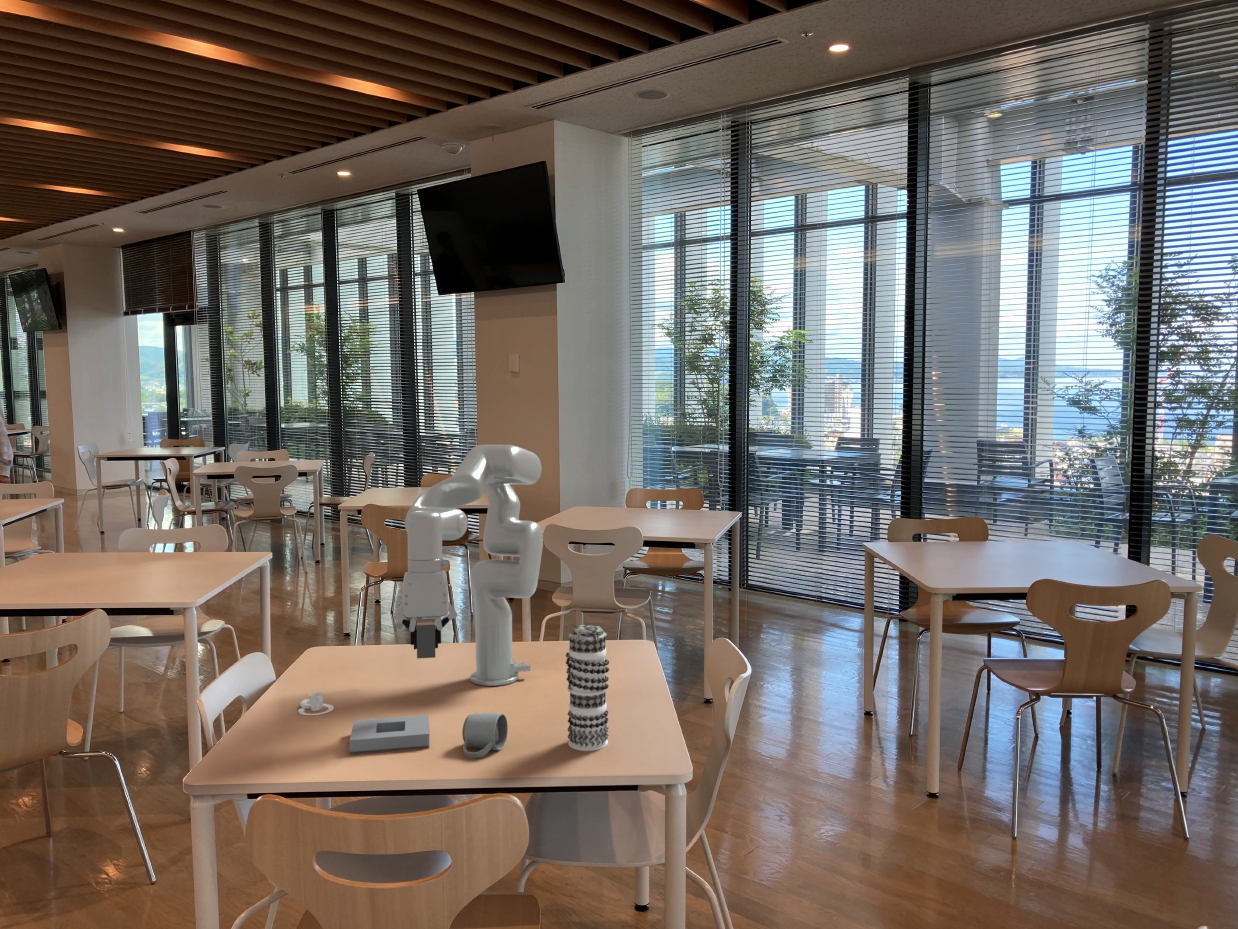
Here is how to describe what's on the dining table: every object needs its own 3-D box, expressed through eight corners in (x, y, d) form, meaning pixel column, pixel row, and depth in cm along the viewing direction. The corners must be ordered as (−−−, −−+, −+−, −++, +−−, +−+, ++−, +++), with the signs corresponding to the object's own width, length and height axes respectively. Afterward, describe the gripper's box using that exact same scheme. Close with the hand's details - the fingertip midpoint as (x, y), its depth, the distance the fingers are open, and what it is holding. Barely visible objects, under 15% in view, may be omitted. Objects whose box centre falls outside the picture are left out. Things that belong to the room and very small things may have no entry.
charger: (435, 653, 204) (434, 618, 203) (435, 657, 200) (435, 621, 200) (417, 654, 203) (416, 618, 203) (417, 658, 199) (416, 622, 199)
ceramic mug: (474, 739, 193) (473, 706, 193) (508, 742, 191) (508, 708, 191) (454, 758, 184) (453, 723, 183) (490, 761, 182) (489, 726, 181)
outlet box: (428, 728, 200) (428, 714, 200) (429, 747, 189) (428, 733, 188) (354, 733, 197) (354, 720, 197) (349, 754, 185) (349, 740, 185)
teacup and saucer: (297, 707, 216) (297, 690, 216) (332, 703, 219) (331, 686, 219) (299, 719, 208) (298, 701, 208) (334, 714, 211) (334, 697, 211)
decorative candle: (559, 740, 192) (557, 625, 191) (597, 732, 197) (596, 620, 195) (578, 754, 184) (577, 634, 183) (617, 746, 189) (617, 629, 187)
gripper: (462, 562, 206) (462, 641, 207) (387, 565, 202) (388, 645, 203) (463, 567, 199) (464, 649, 199) (385, 570, 195) (386, 653, 196)
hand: (425, 646), depth 201 cm, fingers closed on charger, 4 cm apart
